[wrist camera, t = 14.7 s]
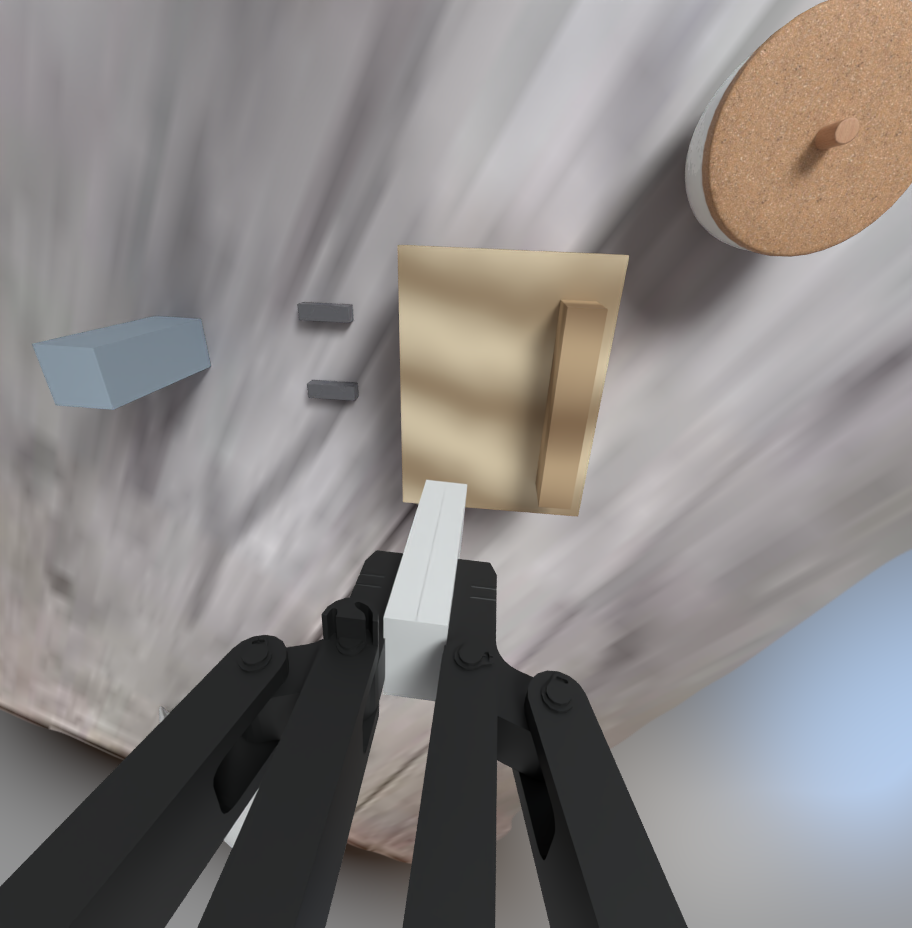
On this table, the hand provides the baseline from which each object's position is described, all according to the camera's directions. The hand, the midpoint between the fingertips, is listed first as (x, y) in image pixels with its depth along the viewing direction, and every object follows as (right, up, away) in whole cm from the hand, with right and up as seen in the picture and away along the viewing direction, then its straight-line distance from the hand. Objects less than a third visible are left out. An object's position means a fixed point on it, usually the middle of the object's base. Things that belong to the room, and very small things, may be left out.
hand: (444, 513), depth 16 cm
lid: (+3, +7, +13) cm, 15 cm away
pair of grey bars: (-10, +11, +21) cm, 26 cm away
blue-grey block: (-23, +12, +22) cm, 34 cm away
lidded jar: (+19, +22, +13) cm, 32 cm away
